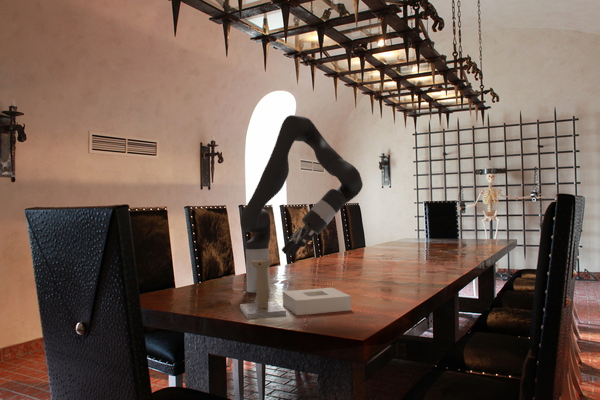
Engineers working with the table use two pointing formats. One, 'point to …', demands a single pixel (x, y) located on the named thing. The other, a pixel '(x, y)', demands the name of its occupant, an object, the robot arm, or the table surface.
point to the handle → (262, 282)
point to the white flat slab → (262, 310)
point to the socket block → (316, 301)
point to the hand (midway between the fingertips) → (286, 253)
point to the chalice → (258, 256)
